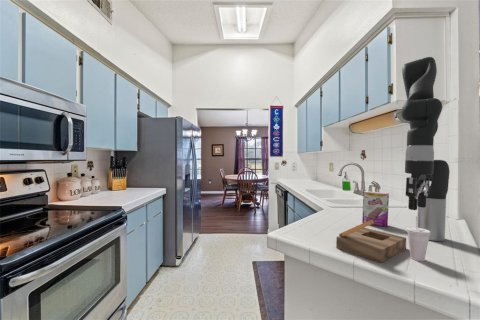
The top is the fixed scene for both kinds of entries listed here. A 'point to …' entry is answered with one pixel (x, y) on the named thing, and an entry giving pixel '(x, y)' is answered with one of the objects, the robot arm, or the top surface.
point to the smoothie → (418, 242)
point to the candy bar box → (375, 208)
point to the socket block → (372, 244)
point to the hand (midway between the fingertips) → (417, 208)
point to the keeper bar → (356, 228)
